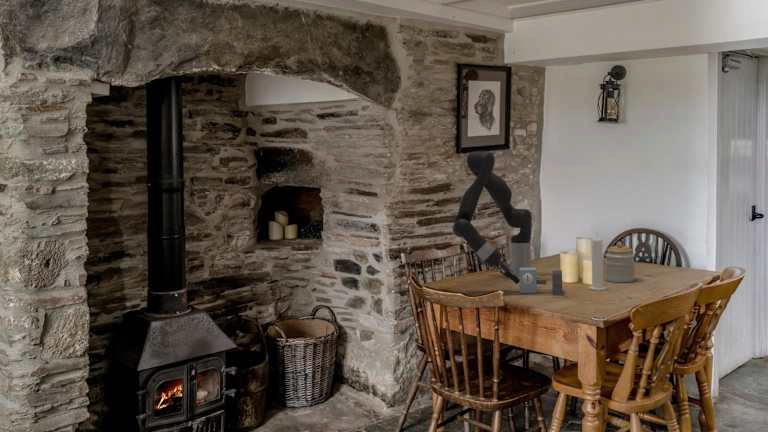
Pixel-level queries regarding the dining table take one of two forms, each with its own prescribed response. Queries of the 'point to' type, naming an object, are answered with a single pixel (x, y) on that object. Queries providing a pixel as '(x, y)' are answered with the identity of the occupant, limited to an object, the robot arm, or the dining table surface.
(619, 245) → the jar
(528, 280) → the grey box with emblem
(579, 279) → the dining table surface
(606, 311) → the dining table surface
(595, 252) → the candle
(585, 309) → the dining table surface
